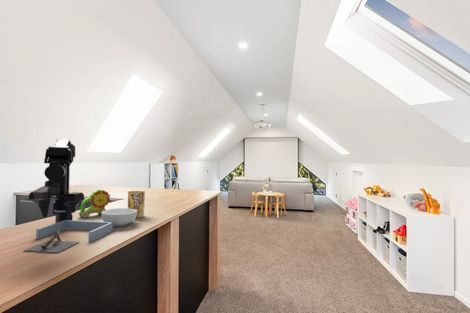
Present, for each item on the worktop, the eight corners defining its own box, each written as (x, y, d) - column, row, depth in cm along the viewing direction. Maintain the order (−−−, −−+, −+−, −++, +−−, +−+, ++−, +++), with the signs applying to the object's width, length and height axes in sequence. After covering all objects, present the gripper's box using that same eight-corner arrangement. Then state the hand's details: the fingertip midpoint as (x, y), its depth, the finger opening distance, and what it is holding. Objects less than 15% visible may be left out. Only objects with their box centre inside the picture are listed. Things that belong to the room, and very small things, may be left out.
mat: (23, 251, 88) (23, 250, 88) (48, 241, 99) (48, 240, 99) (57, 253, 87) (57, 252, 87) (79, 243, 98) (79, 242, 98)
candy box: (144, 215, 148) (145, 190, 148) (143, 217, 144) (144, 191, 144) (128, 215, 146) (129, 190, 147) (127, 217, 142) (128, 191, 142)
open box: (35, 238, 102) (36, 229, 102) (65, 228, 118) (65, 219, 118) (90, 241, 100) (91, 232, 100) (112, 230, 116) (113, 222, 116)
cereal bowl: (122, 230, 117) (123, 215, 117) (93, 227, 121) (93, 213, 121) (142, 221, 134) (143, 209, 134) (116, 219, 137) (116, 206, 137)
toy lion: (82, 218, 137) (83, 191, 137) (78, 217, 140) (79, 190, 140) (110, 214, 150) (111, 189, 150) (106, 212, 153) (107, 188, 153)
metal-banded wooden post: (64, 239, 98) (61, 230, 96) (48, 254, 91) (45, 245, 89) (60, 239, 98) (56, 230, 96) (44, 254, 91) (40, 245, 89)
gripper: (15, 178, 88) (13, 222, 88) (64, 181, 86) (62, 224, 86) (42, 176, 99) (40, 214, 99) (85, 178, 98) (84, 217, 98)
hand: (56, 217), depth 95 cm, fingers open, 9 cm apart
